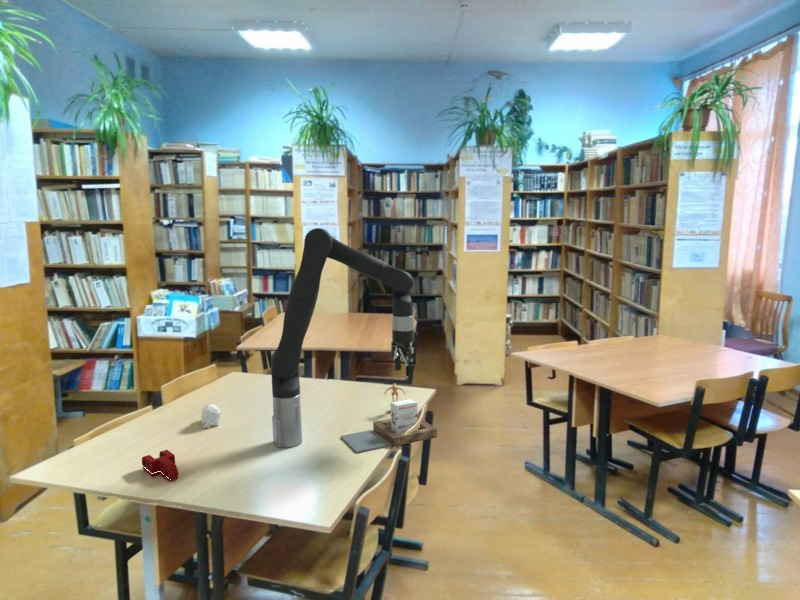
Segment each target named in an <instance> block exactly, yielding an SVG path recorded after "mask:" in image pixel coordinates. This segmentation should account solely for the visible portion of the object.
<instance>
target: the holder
mask: <svg viewBox="0 0 800 600" xmlns="http://www.w3.org/2000/svg"><path fill="white" fill-rule="evenodd" d="M419 418H420V417H419V416H418V420H419ZM372 425H373V427H372V430H373V431H374V432H375V433H377V434H378V435H379V436H380V437H381V438H382V439H384V440H385V441H386V442H387V443H389V444H390V445H391V446H392V447H397V446H404V445H407V444H412V443H418V442H420V441H421V442H422V441H426V440H431V439H435V438H438V429H437V427H435V426H434V425H432V424H431V423H428V422H427V421H426V420H424V419H422V421H421V423H420V428H418V430H415V431H413V432H411V433H410V434H408V435H404V434H405V433H401V434H396V433H394V432H393V431H392V430H391V418H388V419H383V420H376V421H372Z"/></svg>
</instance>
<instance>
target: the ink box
mask: <svg viewBox="0 0 800 600" xmlns="http://www.w3.org/2000/svg"><path fill="white" fill-rule="evenodd" d="M390 405H391V407H390V419H391V430H392V431H393V432H394V433H396V434H401V433H405V432H406V431H407V430H408V429H410V428H411V427H412V426H414V425H415V424H416V423H417V422H418V417H419V416H418V411H419V410H418V402H417V401H415V400H414V399H413V398H411V399H405V400H397V402H393V401H392V402H390Z"/></svg>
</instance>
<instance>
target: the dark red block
mask: <svg viewBox="0 0 800 600" xmlns="http://www.w3.org/2000/svg"><path fill="white" fill-rule="evenodd" d="M158 455H159V456H158V457H157V458H154V457H153V456H152V455H150V454H148V455H144V456H142V457H141V465H143V466H144V467H146V469H148V470H149V471H150V472H151V473H154V472H157V471H161V472H162V473H163V474H164V475H163V474H162V473H161V472H157V473H154V474H151V473H150V472H149V471H147V470H146V469H145V468H144V467H143V466H142V469H143V471H144V472H145V473H146V474H147V475H149V477H150V478H155V477H159V476H161V477H162V478H163V479H164V480H165V481H167V482H168V483H170V482H173V481H176V480H178V478H179V469H178V466H177V465H176V456H175V454H174V453H172V451H170V450H168V449H165V450H161V451H159V454H158ZM166 476H167V477H168V478H169V479H168V478H167V477H166ZM170 479H171V480H170Z"/></svg>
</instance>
